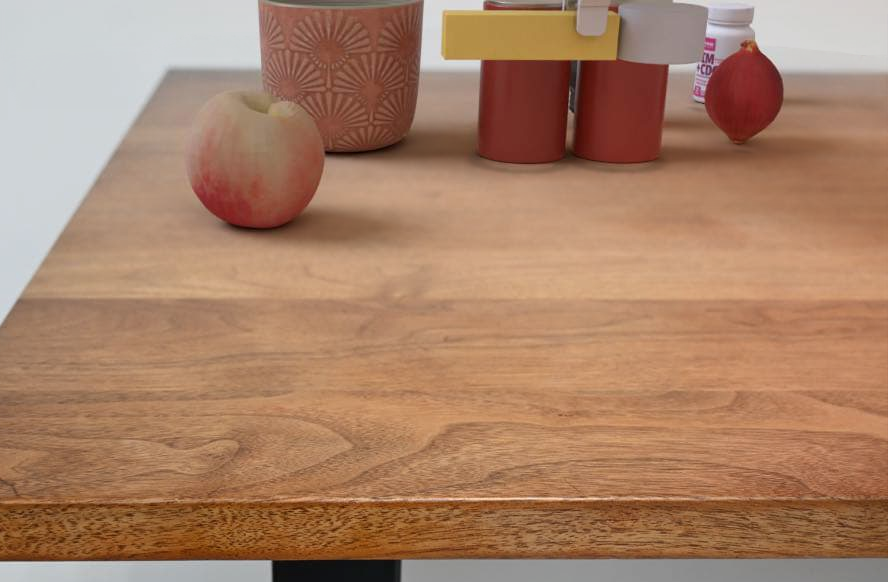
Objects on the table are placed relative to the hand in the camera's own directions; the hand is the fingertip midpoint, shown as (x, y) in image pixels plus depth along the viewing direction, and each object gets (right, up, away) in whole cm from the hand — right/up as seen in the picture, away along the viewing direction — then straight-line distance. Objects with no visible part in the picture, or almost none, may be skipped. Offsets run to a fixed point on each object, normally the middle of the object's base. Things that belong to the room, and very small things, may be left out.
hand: (582, 30), depth 80 cm
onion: (+15, -4, +18) cm, 24 cm away
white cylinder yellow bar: (-1, -2, +1) cm, 2 cm away
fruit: (-21, -13, -3) cm, 25 cm away
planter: (-16, -4, +17) cm, 24 cm away
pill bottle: (+19, +2, +34) cm, 38 cm away
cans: (+2, -5, +14) cm, 15 cm away
